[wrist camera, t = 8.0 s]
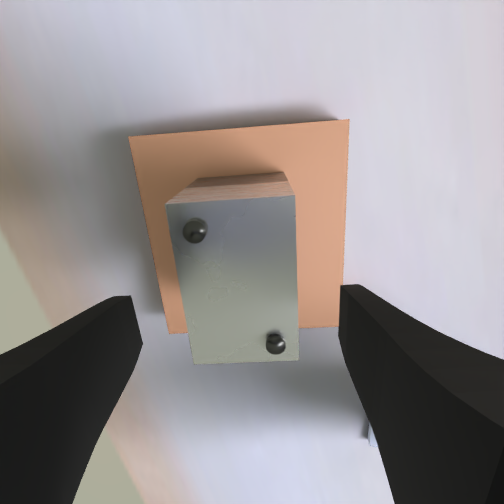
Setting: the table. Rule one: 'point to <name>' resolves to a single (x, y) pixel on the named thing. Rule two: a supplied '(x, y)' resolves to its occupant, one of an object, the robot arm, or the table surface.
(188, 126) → the table surface
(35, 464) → the robot arm
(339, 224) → the stand
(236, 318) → the block
